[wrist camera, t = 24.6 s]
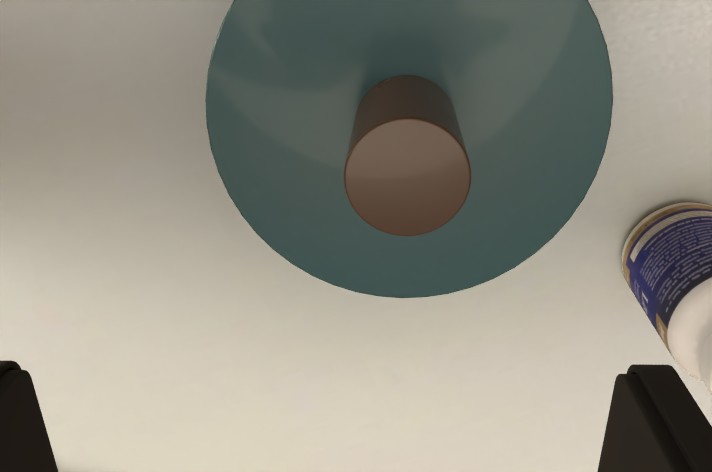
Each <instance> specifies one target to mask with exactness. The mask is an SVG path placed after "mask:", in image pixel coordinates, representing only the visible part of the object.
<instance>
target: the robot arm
mask: <svg viewBox="0 0 712 472" xmlns="http://www.w3.org/2000/svg"><path fill="white" fill-rule="evenodd" d="M0 472H58V469H57V466H56V462H55V459H54V455H53V452H52V448H51V445H50V441H49V438H48V434H47V431H46V427H45V424H44V420H43V417H42V413H41V410H40V407H39V403H38V400H37V396H36V393H35V389H34V386H33V382H32V379H31V376H30V374H29V373H28V372H27V371H26V370H21V368H20V366H19V365H18V364H17V363H16V362H14V361H0ZM598 472H712V427H711V425H710V423H709V422H708V420H707V419H706V417H705V416H704V414H703V413H702V411H701V409H700V408H699V406H698V405H697V403H696V402H695V400H694V399H693V397H692V395H691V394H690V392H689V391H688V389H687V388H686V386H685V384H684V383H683V381H682V380H681V378H680V377H679V375H678V374H677V372H676V371H675V369H674V368H673V367H672V366H670V365H631V366H630V367H629V369H628V371H627V374H619V375H618V376H617V377H616V381H615V385H614V390H613V395H612V401H611V406H610V411H609V416H608V421H607V426H606V431H605V437H604V442H603V447H602V452H601V457H600V462H599V467H598Z"/></svg>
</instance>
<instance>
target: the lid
mask: <svg viewBox="0 0 712 472" xmlns="http://www.w3.org/2000/svg"><path fill="white" fill-rule="evenodd" d="M612 105H613V89H612V72H611V66H610V61H609V56H608V50H607V45H606V42H605V40H604V37H603V34H602V31H601V28H600V25H599V22H598V19H597V17H596V15H595V13H594V11H593V10H592V8H591V6H590V4H589V2H588V0H234V2H233V4H232V5H231V7H230V9H229V11H228V13H227V15H226V17H225V19H224V20H223V23H222V25H221V28H220V31H219V33H218V36H217V39H216V42H215V44H214V47H213V52H212V56H211V60H210V65H209V69H208V76H207V87H206V119H207V129H208V134H209V140H210V145H211V150H212V153H213V156H214V159H215V163H216V166H217V169H218V172H219V174H220V176H221V179H222V181H223V183H224V185H225V187H226V189H227V192H228V194H229V196H230V197H231V199H232V200H233V202H234V204H235V205H236V207H237V208H238V210H239V211H240V213H241V215H242V216H243V217H244V218H245V220H246V221H247V222H248V223H249V225H250V226H251V227H252V228H253V230H254V231H255V232H256V233H257V234H258V235H259V236H260V237H261V238H262V239H263V240H264V241H265V242H266V243H267V244H268V245H269V246H270V247H271V248H272V249H273V250H275V251H276V252H277V253H279V254H280V255H281V256H282V257H284V258H285V259H286V260H288V261H289V262H290V263H292V264H293V265H295V266H297V267H298V268H300V269H302V270H304V271H305V272H307V273H309V274H310V275H312V276H314V277H316V278H319V279H321V280H323V281H326V282H328V283H330V284H332V285H335V286H338V287H342V288H345V289H348V290H351V291H354V292H359V293H364V294H370V295H375V296H383V297H396V298H413V297H429V296H435V295H442V294H448V293H452V292H456V291H460V290H463V289H467V288H471V287H473V286H476V285H479V284H481V283H484V282H486V281H489V280H491V279H494V278H496V277H497V276H499V275H501V274H503V273H505V272H507V271H509V270H511V269H513V268H514V267H516V266H517V265H519V264H520V263H522V262H523V261H525V260H526V259H527V258H529V257H530V256H532V255H533V254H535V253H536V252H537V251H538V250H539V249H540V248H541V247H543V246H544V245H545V244H546V243H547V242H548V241H549V240H551V239H552V238H553V237H554V236H555V235H556V233H557V232H558V231H559V230H560V229H561V228H562V227H563V226H564V225H565V223H566V222H567V221H568V220H569V219H570V217H571V216H572V215H573V213H574V212H575V210H576V209H577V207H578V206H579V205H580V203H581V202H582V200H583V199H584V197H585V195H586V193H587V191H588V189H589V188H590V186H591V184H592V182H593V180H594V178H595V176H596V174H597V171H598V168H599V166H600V163H601V160H602V158H603V155H604V152H605V148H606V144H607V139H608V135H609V131H610V126H611V116H612Z"/></svg>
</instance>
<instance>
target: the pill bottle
mask: <svg viewBox="0 0 712 472" xmlns="http://www.w3.org/2000/svg"><path fill="white" fill-rule="evenodd" d="M621 263H622V271H623V274H624V277H625V279H626V281H627V283H628V285H629V287H630V288H631V290H632V292H633V293H634V295H635V297H636V298H637V300H638V302H639V303H640V305H641V306H642V308H643V310H644V311H645V313H646V315H647V316H648V318H649V319H650V321H651V323H652V324H653V326H654V327H655V329H656V331H657V332H658V334H659V336H660V337H661V339H662V341H663V342H664V344H665V345H666V347H667V349H668V350H669V352H670V353H671V355H672V356H673V358H674V359H675V360H676V362H677V363H678V364H679V366H680V367H681V368H682V369H684V370H685V371H686V372H687V373H688V374H690V375H691V376H693V377H695V378H697V379H699V380H701V381H703V382H704V384H705V385H706V387H707V389H708V390H709V392H710V393H711V394H712V206H710V205H706V204H701V203H692V202H686V203H677V204H673V205H669V206H666V207H663V208H661V209H659V210H657V211H655V212H653V213H651V214H650V215H648V216H647V217H646V218H644V219H643V220H642V221H641V222H640V223H639V224H638V225H637V226H636V227H635V228H634V229H633V230H632V232H631V233H630V235H629V236H628V238H627V240H626V242H625V245H624V248H623V252H622V258H621Z"/></svg>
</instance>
